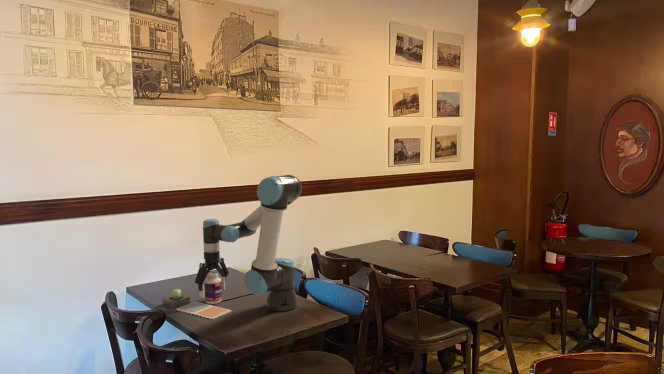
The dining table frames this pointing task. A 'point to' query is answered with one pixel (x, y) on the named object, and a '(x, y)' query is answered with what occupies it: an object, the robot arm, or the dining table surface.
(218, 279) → the pill bottle
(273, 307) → the robot arm
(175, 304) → the button housing
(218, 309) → the board
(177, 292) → the button
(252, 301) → the dining table surface
